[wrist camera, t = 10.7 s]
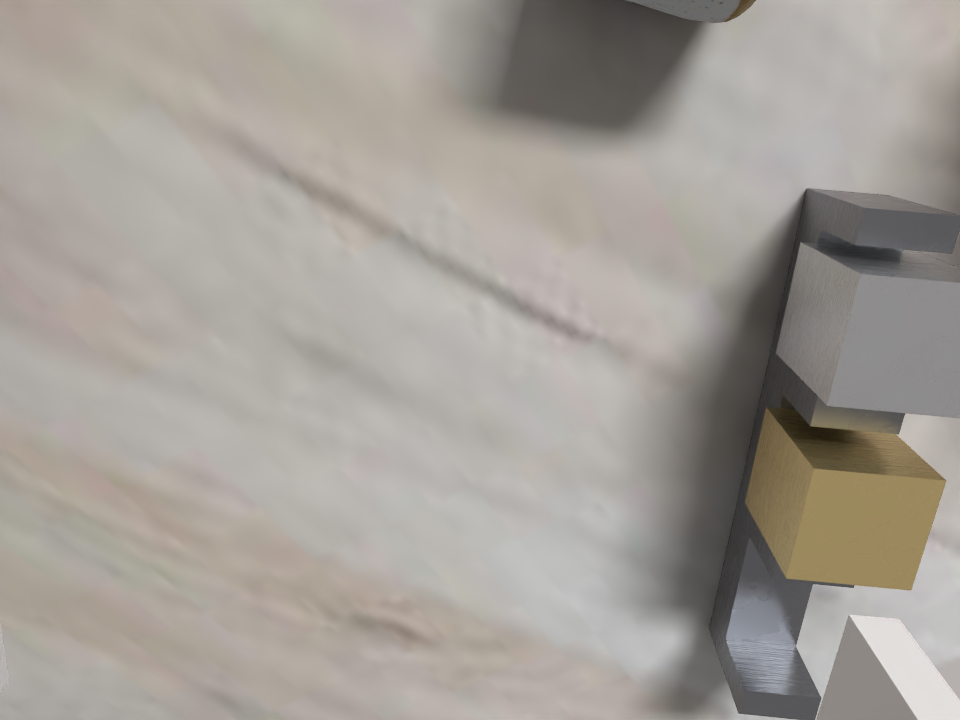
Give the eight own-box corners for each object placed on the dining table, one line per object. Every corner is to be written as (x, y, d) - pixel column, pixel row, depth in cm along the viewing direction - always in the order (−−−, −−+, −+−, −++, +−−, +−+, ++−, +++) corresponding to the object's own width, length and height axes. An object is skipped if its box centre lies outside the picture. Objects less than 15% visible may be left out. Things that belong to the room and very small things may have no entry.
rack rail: (709, 629, 42) (738, 713, 36) (806, 188, 34) (864, 207, 28) (774, 635, 42) (814, 721, 36) (888, 195, 33) (962, 216, 28)
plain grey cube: (775, 353, 34) (827, 405, 28) (800, 242, 32) (860, 274, 26) (888, 363, 33) (963, 418, 28) (920, 252, 32) (1006, 286, 26)
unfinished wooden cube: (744, 502, 36) (786, 578, 30) (766, 406, 34) (813, 468, 29) (849, 512, 36) (911, 590, 30) (876, 416, 34) (946, 480, 29)
